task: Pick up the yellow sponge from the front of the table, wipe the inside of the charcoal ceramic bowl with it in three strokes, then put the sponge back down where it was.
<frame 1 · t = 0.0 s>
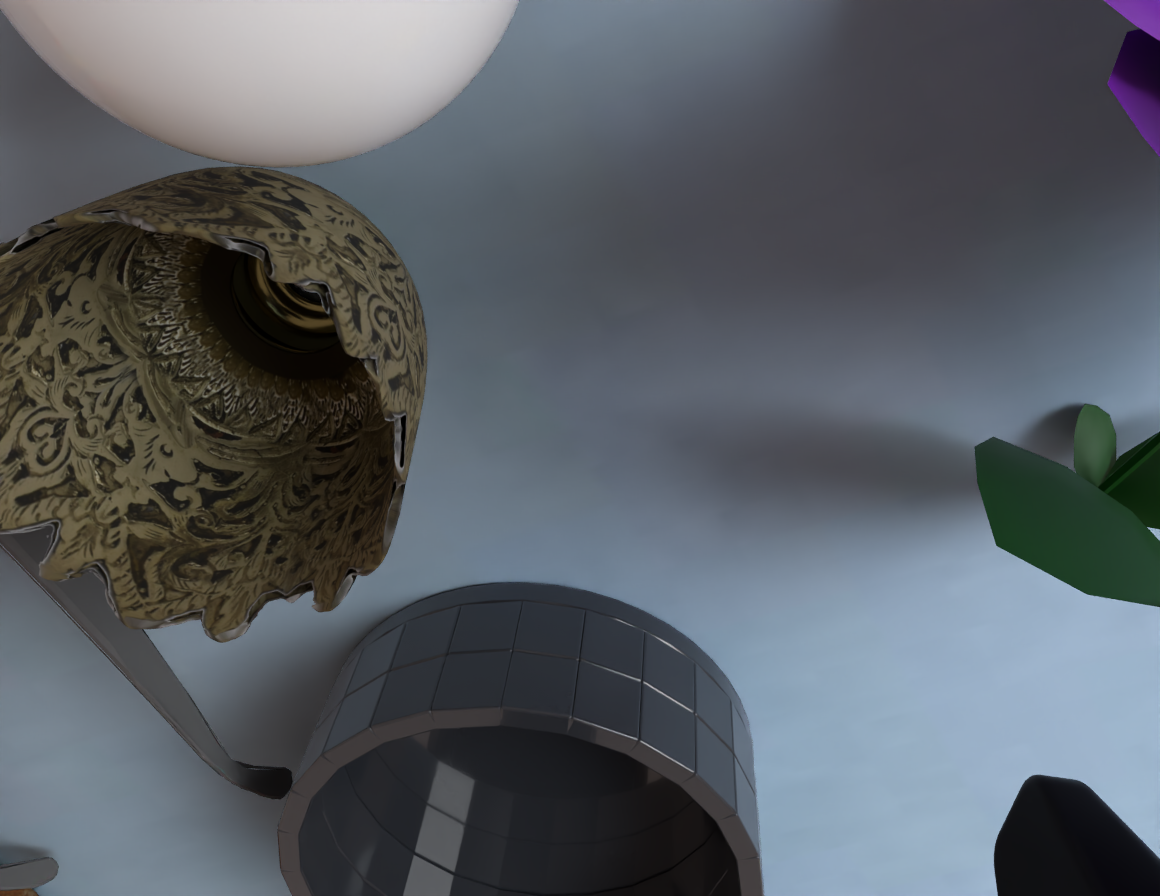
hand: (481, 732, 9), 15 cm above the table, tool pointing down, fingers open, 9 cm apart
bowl: (538, 748, 30), on the table
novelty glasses: (7, 652, 30), on the table
cup: (321, 262, 23), on the table
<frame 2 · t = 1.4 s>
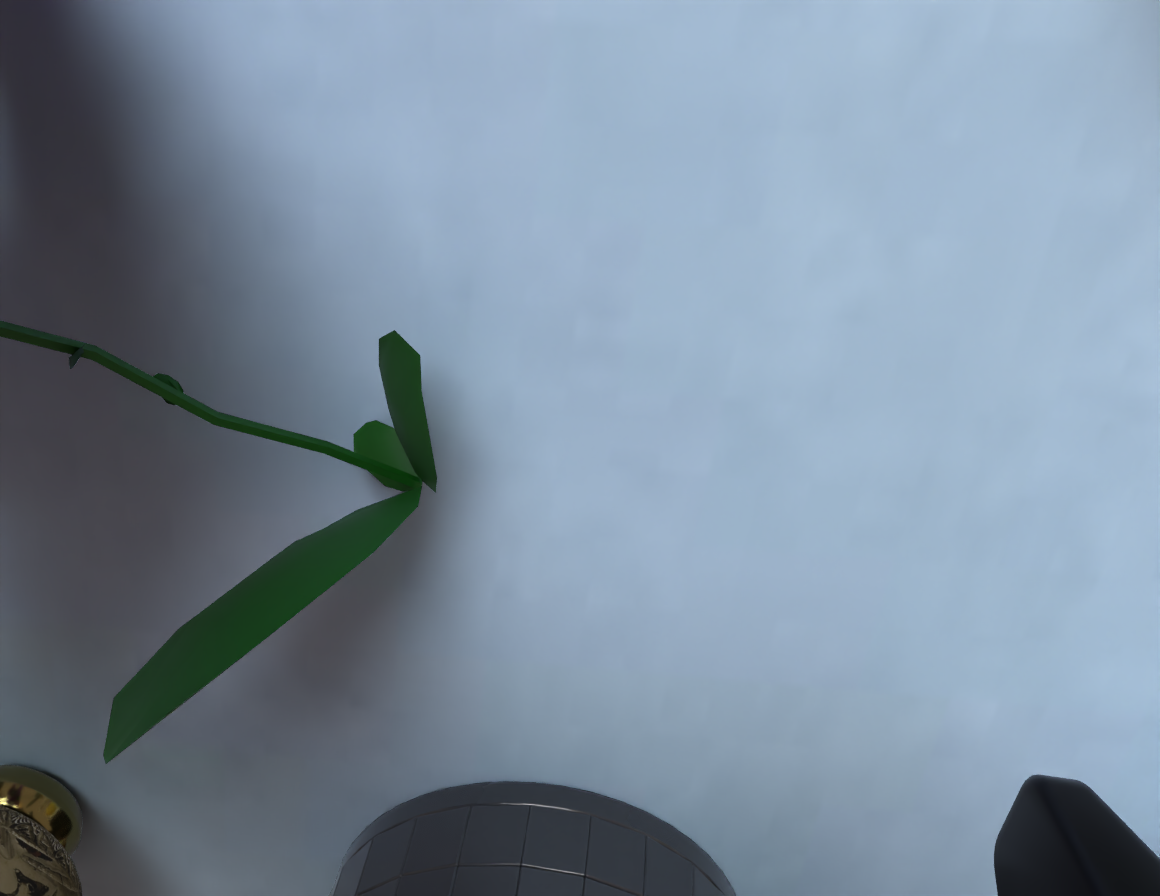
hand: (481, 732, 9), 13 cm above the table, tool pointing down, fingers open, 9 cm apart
cup: (34, 792, 30), on the table
flower: (184, 257, 21), on the table
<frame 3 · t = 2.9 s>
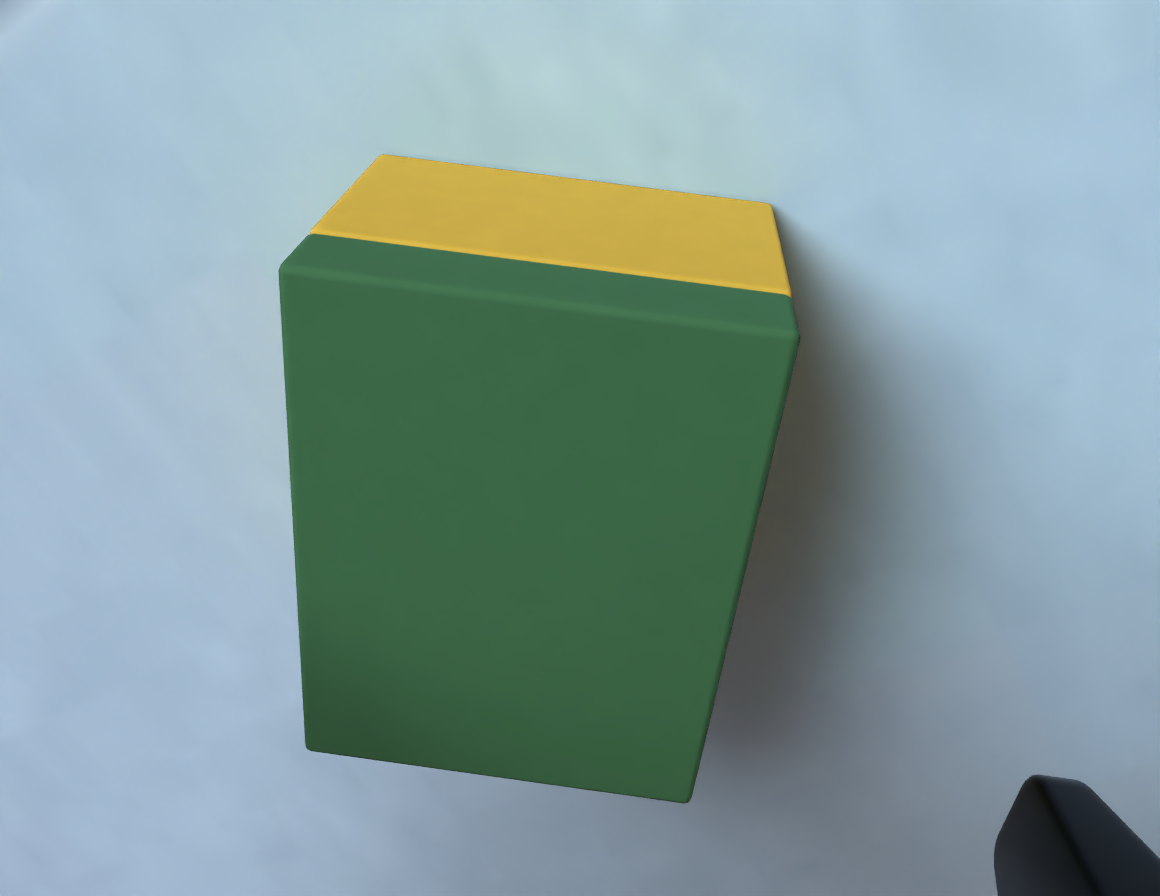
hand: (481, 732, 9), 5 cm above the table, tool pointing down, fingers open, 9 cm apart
sponge: (552, 406, 13), on the table
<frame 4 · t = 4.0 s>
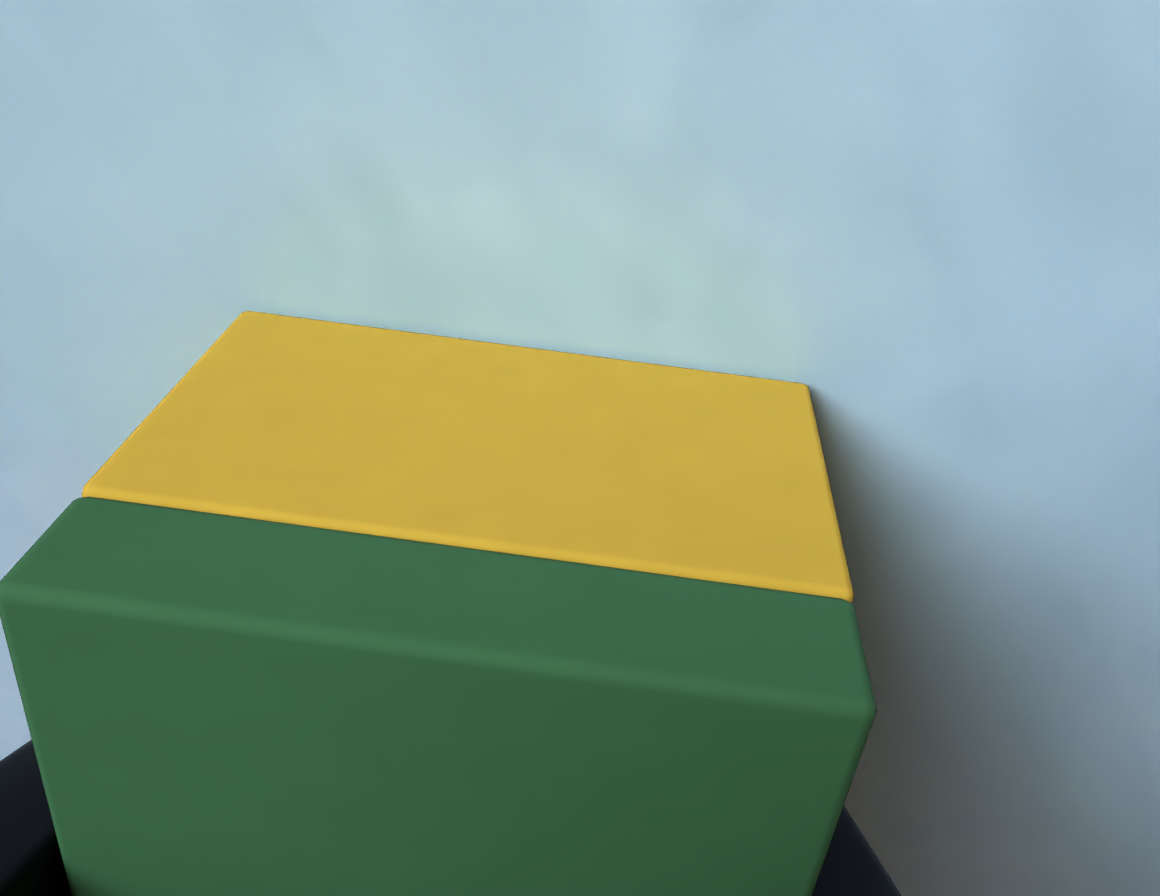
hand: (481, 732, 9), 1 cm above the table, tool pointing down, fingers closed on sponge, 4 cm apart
sponge: (501, 631, 10), on the table, touching gripper
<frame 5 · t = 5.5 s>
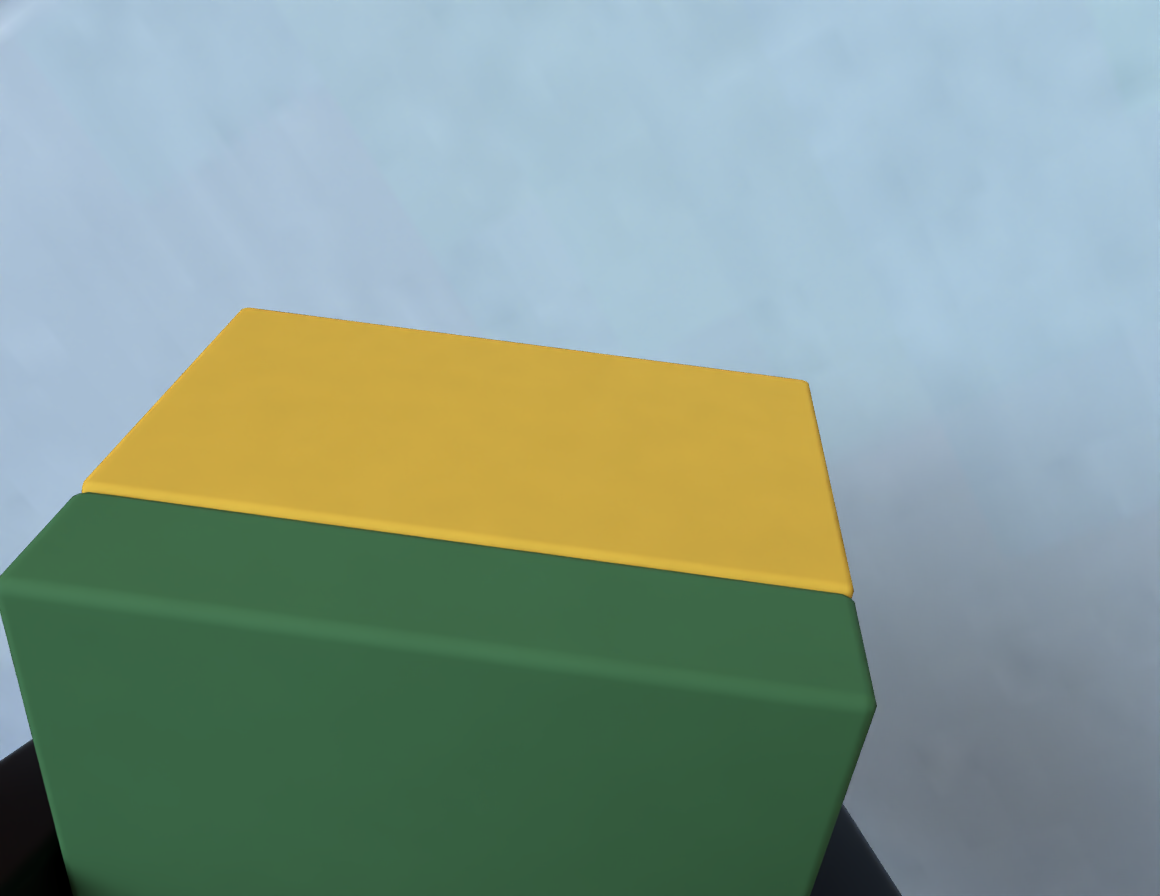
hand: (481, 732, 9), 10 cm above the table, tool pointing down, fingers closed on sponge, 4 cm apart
sponge: (501, 629, 10), point 8 cm above the table, touching gripper
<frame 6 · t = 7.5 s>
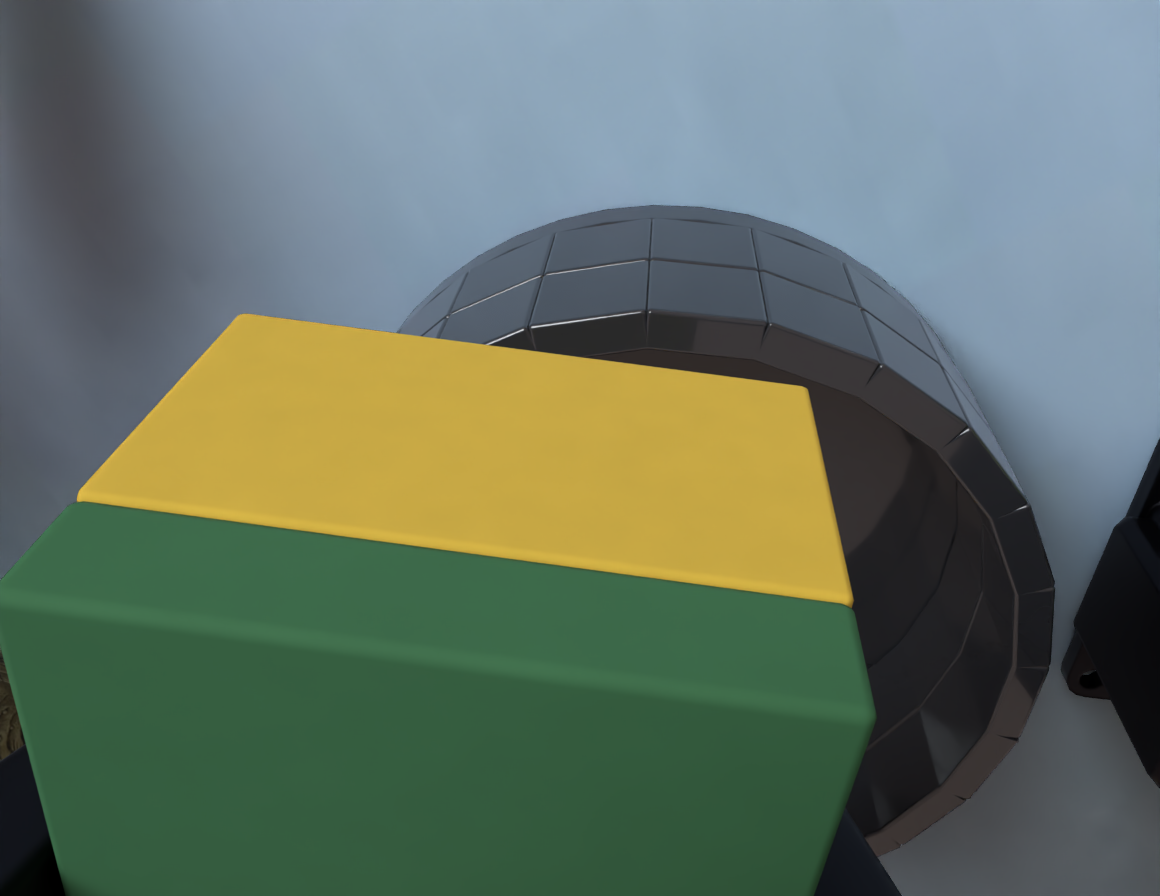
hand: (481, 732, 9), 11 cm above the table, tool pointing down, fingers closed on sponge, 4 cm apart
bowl: (658, 504, 20), on the table
sponge: (499, 635, 10), point 10 cm above the table, touching gripper
cup: (33, 645, 24), on the table
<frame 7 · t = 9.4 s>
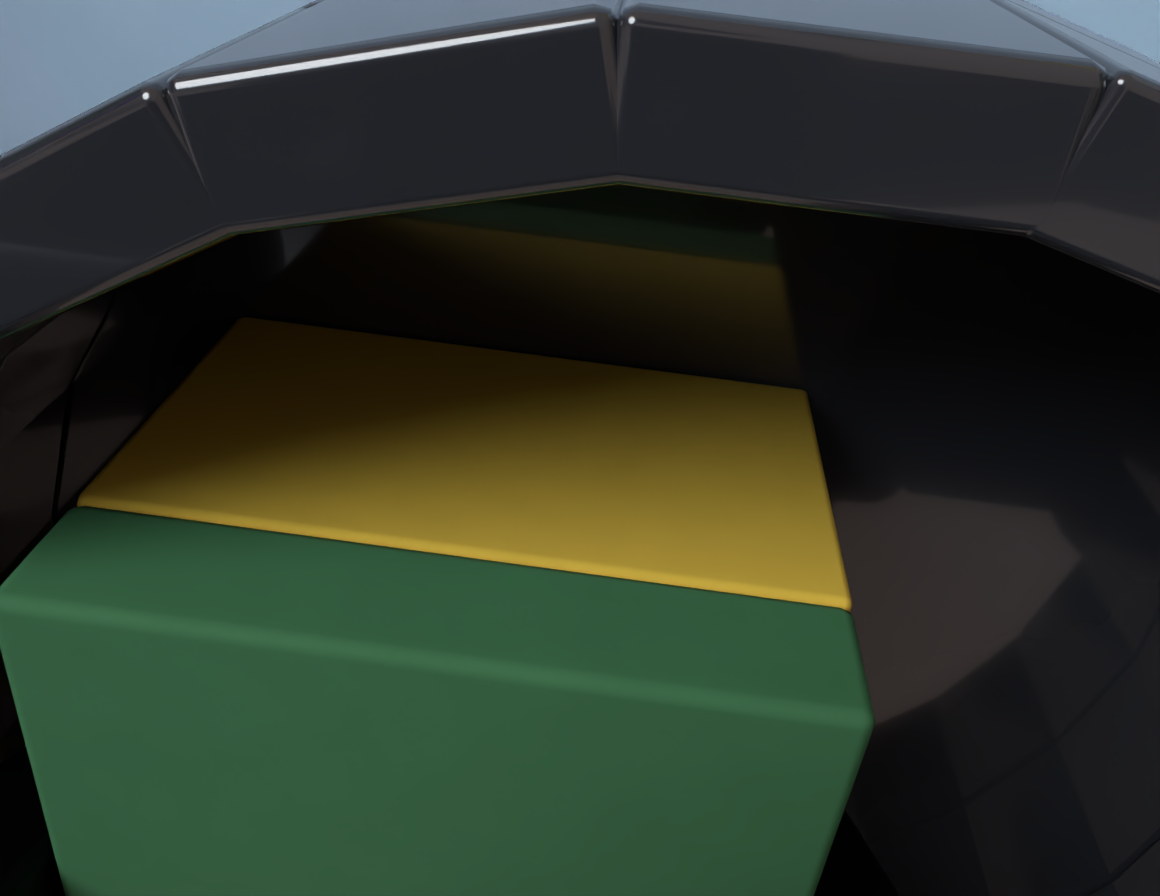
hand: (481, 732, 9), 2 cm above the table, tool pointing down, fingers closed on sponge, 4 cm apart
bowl: (648, 601, 10), on the table
sponge: (499, 637, 10), point 1 cm above the table, touching gripper
when the fingers open (1 cm above the table, at t = 16.1 s): sponge stays where it is, on the table.
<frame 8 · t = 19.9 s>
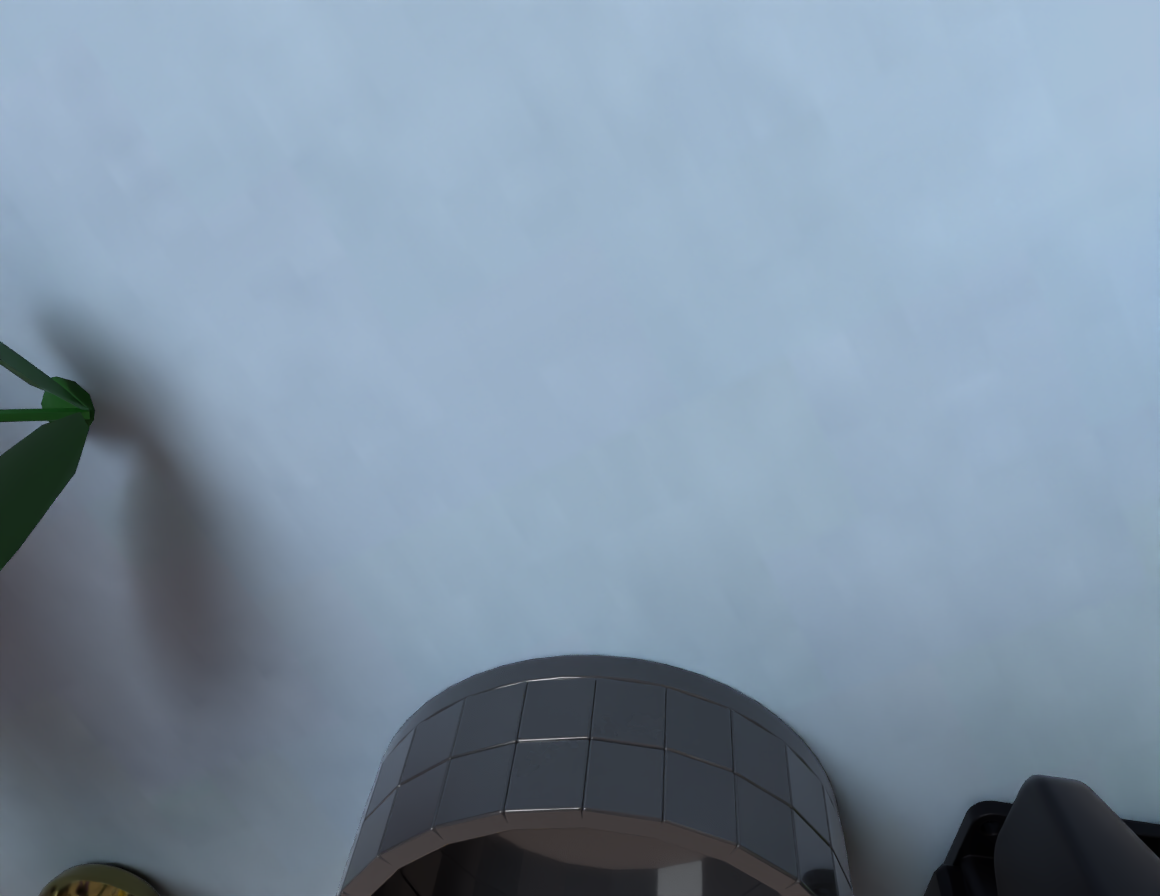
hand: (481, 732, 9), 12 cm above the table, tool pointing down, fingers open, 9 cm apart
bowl: (603, 827, 27), on the table
cup: (117, 886, 31), on the table
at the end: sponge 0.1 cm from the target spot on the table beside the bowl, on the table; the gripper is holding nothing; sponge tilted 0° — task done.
